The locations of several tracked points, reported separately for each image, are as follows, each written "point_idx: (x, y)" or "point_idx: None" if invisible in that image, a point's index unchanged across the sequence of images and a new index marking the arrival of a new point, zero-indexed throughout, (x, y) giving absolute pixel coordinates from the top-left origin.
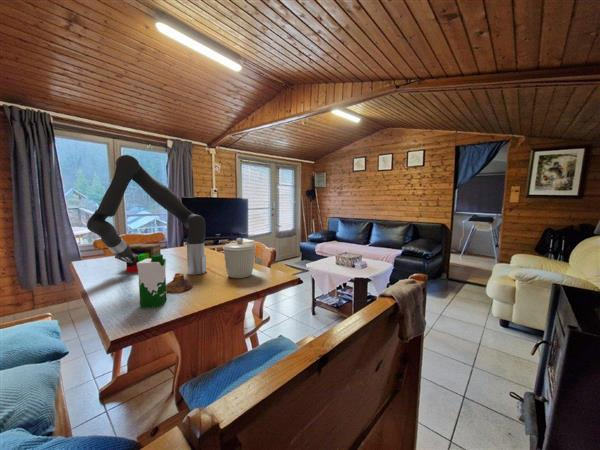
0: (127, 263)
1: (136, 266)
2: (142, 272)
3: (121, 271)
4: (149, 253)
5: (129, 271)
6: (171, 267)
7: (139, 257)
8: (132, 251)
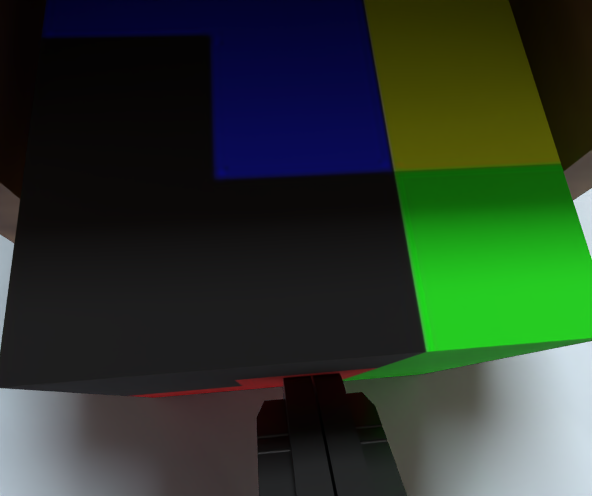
0: (130, 392)
1: None
2: None
3: None
4: (522, 71)
5: (193, 393)
6: None
7: (446, 354)
8: None
